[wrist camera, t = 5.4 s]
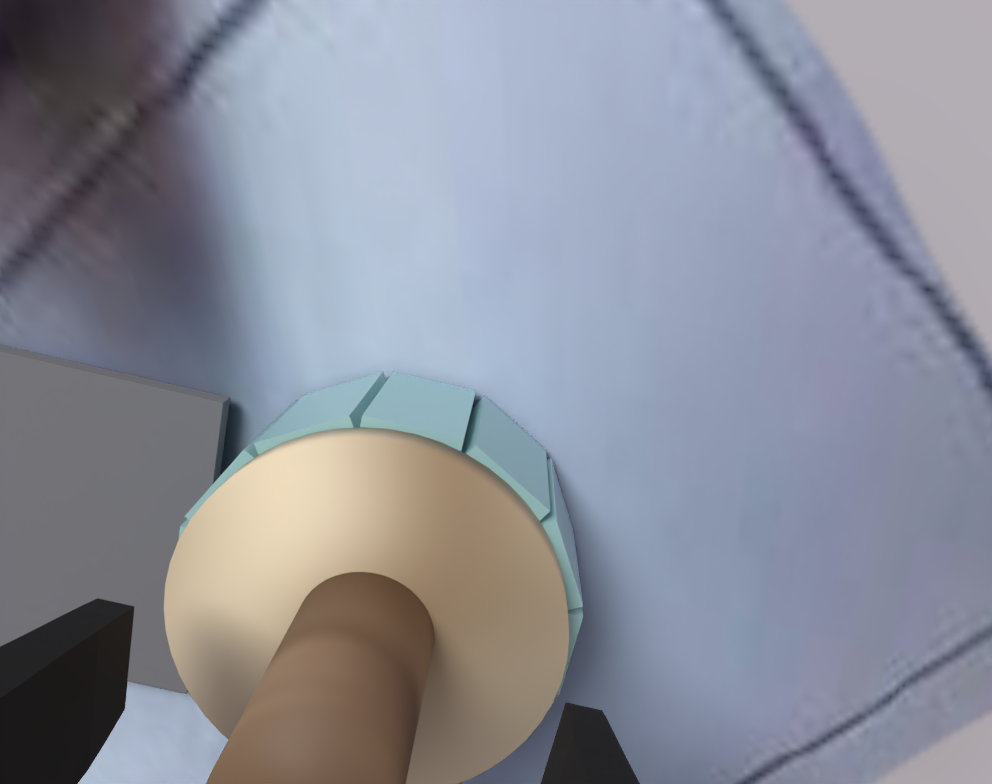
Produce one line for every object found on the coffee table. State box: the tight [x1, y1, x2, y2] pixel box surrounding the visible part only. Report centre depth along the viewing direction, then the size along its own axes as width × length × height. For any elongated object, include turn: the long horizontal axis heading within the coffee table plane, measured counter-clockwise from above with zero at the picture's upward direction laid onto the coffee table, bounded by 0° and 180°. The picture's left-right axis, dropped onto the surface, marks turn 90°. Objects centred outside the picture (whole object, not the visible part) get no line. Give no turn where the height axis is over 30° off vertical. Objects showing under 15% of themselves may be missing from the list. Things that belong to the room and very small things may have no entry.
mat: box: [0, 345, 230, 694], centre depth 17 cm, size 8×8×1 cm
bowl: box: [179, 371, 583, 706], centre depth 16 cm, size 8×8×3 cm
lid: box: [164, 427, 569, 784], centre depth 12 cm, size 8×8×5 cm
